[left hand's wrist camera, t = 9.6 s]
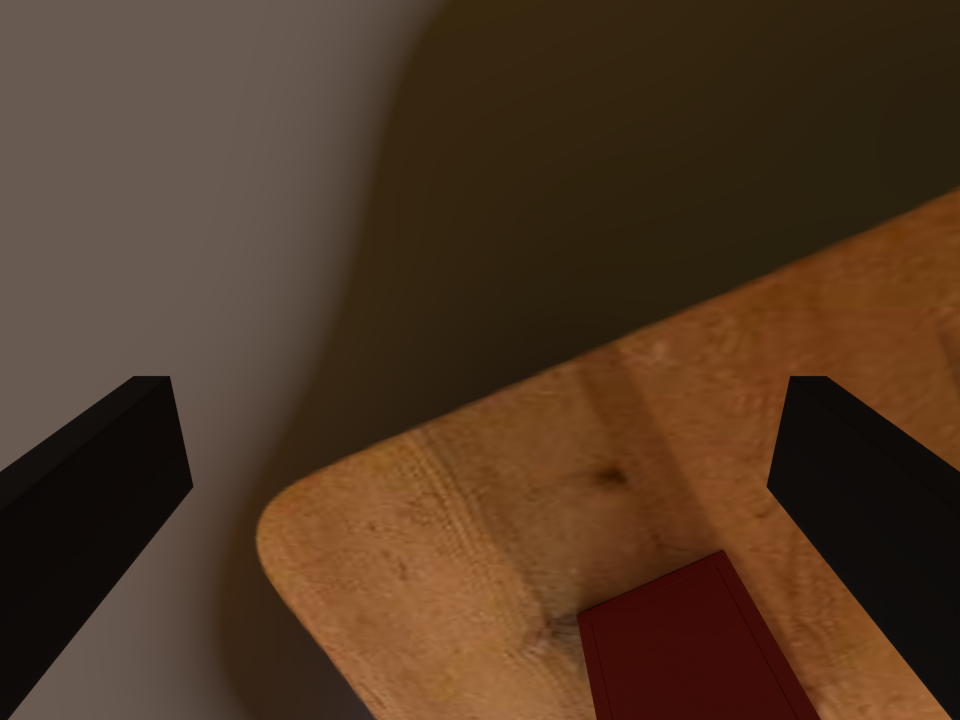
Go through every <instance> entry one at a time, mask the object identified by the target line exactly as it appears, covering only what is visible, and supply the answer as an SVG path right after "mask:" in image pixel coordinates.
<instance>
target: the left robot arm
mask: <svg viewBox="0 0 960 720" xmlns="http://www.w3.org/2000/svg"><path fill="white" fill-rule="evenodd" d="M192 488H193V482H192V478H191V473H190V468H189V464H188V459H187V454H186V450H185V445H184V440H183V436H182V431H181V426H180V422H179V417H178V412H177V407H176V403H175V398H174V394H173V389H172V384H171V379H170V376H133V377H132V378H130V379H129V380H128V381H126V382H125V383H123V384H122V385H121V386H119V387H118V388H116V389H115V390H114V391H112V392H111V393H109V394H108V395H107V396H105V397H104V398H102V399H101V400H100V401H98V402H97V403H96V404H94V405H93V406H91V407H90V408H89V409H87V410H86V411H84V412H83V413H82V414H80V415H79V416H77V417H76V418H75V419H73V420H72V421H71V422H69V423H68V424H66V425H65V426H63V427H62V428H61V429H59V430H58V431H57V432H55V433H54V434H52V435H51V436H50V437H48V438H47V439H45V440H44V441H43V442H41V443H40V444H38V445H37V446H36V447H34V448H33V449H31V450H30V451H29V452H27V453H26V454H25V455H23V456H22V457H20V458H19V459H18V460H16V461H15V462H13V463H12V464H11V465H9V466H8V467H7V468H5V469H4V470H2V471H1V472H0V720H8V719H9V717H10V716H11V715H12V714H13V712H14V711H15V710H16V709H17V707H18V706H19V705H20V704H21V702H22V701H23V700H24V699H25V697H26V696H27V695H28V694H29V692H30V691H31V690H32V689H33V687H34V686H35V685H36V684H37V682H38V681H39V680H40V679H41V677H42V676H43V675H44V674H45V672H46V671H47V670H48V668H49V667H50V666H51V665H52V663H53V662H54V661H55V660H56V659H57V657H58V656H59V655H60V653H61V652H62V651H63V650H64V648H65V647H66V646H67V645H68V643H69V642H70V641H71V640H72V638H73V637H74V636H75V635H76V633H77V632H78V631H79V630H80V628H81V627H82V626H83V625H84V623H85V622H86V621H87V620H88V618H89V617H90V616H91V615H92V613H93V612H94V611H95V610H96V608H97V607H98V606H99V605H100V603H101V602H102V601H103V600H104V598H105V597H106V596H107V594H108V593H109V592H110V591H111V590H112V588H113V587H114V586H115V584H116V583H117V582H118V581H119V580H120V578H121V577H122V576H123V574H124V573H125V572H126V571H127V569H128V568H129V567H130V566H131V564H132V563H133V562H134V561H135V559H136V558H137V557H138V556H139V554H140V553H141V552H142V551H143V549H144V548H145V547H146V546H147V544H148V543H149V542H150V541H151V539H152V538H153V537H154V536H155V534H156V533H157V532H158V531H159V529H160V528H161V527H162V526H163V524H164V523H165V522H166V521H167V519H168V518H169V517H170V516H171V514H172V513H173V512H174V510H175V509H176V508H177V507H178V505H179V504H180V503H181V502H182V500H183V499H184V498H185V497H186V495H187V494H188V493H189V492H190V490H191V489H192ZM767 488H768V489H769V490H770V492H771V493H772V494H773V495H774V497H775V498H776V499H777V500H778V502H779V503H780V504H781V505H782V507H783V508H784V509H785V511H786V512H787V513H788V514H789V516H790V517H791V518H792V519H793V521H794V522H795V523H796V524H797V526H798V527H799V528H800V529H801V531H802V532H803V533H804V534H805V536H806V537H807V538H808V539H809V541H810V542H811V543H812V544H813V546H814V547H815V548H816V549H817V551H818V552H819V553H820V554H821V556H822V557H823V558H824V559H825V561H826V562H827V563H828V564H829V566H830V567H831V568H832V569H833V571H834V572H835V573H836V574H837V576H838V577H839V578H840V580H841V581H842V582H843V583H844V585H845V586H846V587H847V588H848V590H849V591H850V592H851V593H852V595H853V596H854V597H855V598H856V600H857V601H858V602H859V603H860V605H861V606H862V607H863V608H864V610H865V611H866V612H867V613H868V615H869V616H870V617H871V618H872V620H873V621H874V622H875V623H876V625H877V626H878V627H879V628H880V630H881V631H882V632H883V633H884V635H885V636H886V637H887V638H888V640H889V641H890V642H891V643H892V645H893V646H894V647H895V648H896V650H897V651H898V652H899V654H900V655H901V656H902V657H903V659H904V660H905V661H906V662H907V664H908V665H909V666H910V667H911V669H912V670H913V671H914V672H915V674H916V675H917V676H918V677H919V679H920V680H921V681H922V682H923V684H924V685H925V686H926V687H927V689H928V690H929V691H930V692H931V694H932V695H933V696H934V697H935V699H936V700H937V701H938V702H939V704H940V705H941V706H942V707H943V709H944V710H945V711H946V712H947V714H948V715H949V716H950V717H951V719H952V720H960V472H959V471H958V470H956V469H955V468H954V467H952V466H951V465H949V464H948V463H947V462H945V461H944V460H942V459H941V458H940V457H938V456H937V455H935V454H934V453H933V452H931V451H930V450H929V449H927V448H926V447H924V446H923V445H922V444H920V443H919V442H917V441H916V440H915V439H913V438H912V437H910V436H909V435H908V434H906V433H905V432H903V431H902V430H901V429H899V428H898V427H897V426H895V425H894V424H892V423H891V422H890V421H888V420H887V419H885V418H884V417H883V416H881V415H880V414H878V413H877V412H876V411H874V410H873V409H871V408H870V407H869V406H867V405H866V404H864V403H863V402H862V401H860V400H859V399H858V398H856V397H855V396H853V395H852V394H851V393H849V392H848V391H846V390H845V389H844V388H842V387H841V386H839V385H838V384H837V383H835V382H834V381H832V380H831V379H830V378H828V377H827V376H790V379H789V384H788V389H787V393H786V398H785V403H784V407H783V412H782V417H781V422H780V426H779V431H778V436H777V440H776V445H775V450H774V454H773V459H772V464H771V468H770V473H769V478H768V482H767Z"/></svg>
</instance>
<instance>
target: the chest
mask: <svg viewBox="0 0 960 720" xmlns="http://www.w3.org/2000/svg"><path fill="white" fill-rule="evenodd" d="M577 620H578V625H579V630H580V635H581V640H582V646H583V651H584V656H585V661H586V666H587V671H588V677H589V682H590V687H591V692H592V697H593V702H594V708H595V713H596V718H597V720H821V719H820V717H819V716H818V714H817V712H816V710H815V709H814V707H813V705H812V703H811V702H810V700H809V698H808V696H807V695H806V693H805V691H804V689H803V688H802V686H801V684H800V682H799V681H798V679H797V677H796V675H795V674H794V672H793V670H792V668H791V667H790V665H789V663H788V661H787V660H786V658H785V656H784V654H783V653H782V651H781V649H780V647H779V646H778V644H777V642H776V640H775V639H774V637H773V635H772V633H771V632H770V630H769V628H768V626H767V625H766V623H765V621H764V619H763V618H762V616H761V614H760V612H759V611H758V609H757V607H756V605H755V604H754V602H753V600H752V598H751V597H750V595H749V593H748V591H747V590H746V588H745V586H744V584H743V583H742V581H741V579H740V577H739V576H738V574H737V572H736V570H735V569H734V567H733V565H732V563H731V562H730V560H729V558H728V556H727V555H726V553H725V551H721V552H719V553H716V554H714V555H712V556H710V557H707V558H705V559H703V560H701V561H698V562H696V563H694V564H691V565H689V566H687V567H685V568H682V569H680V570H678V571H676V572H673V573H671V574H669V575H667V576H664V577H662V578H660V579H657V580H655V581H653V582H651V583H648V584H646V585H644V586H642V587H639V588H637V589H635V590H633V591H630V592H628V593H626V594H623V595H621V596H619V597H617V598H614V599H612V600H610V601H608V602H605V603H603V604H601V605H599V606H596V607H594V608H592V609H589V610H587V611H585V612H583V613H580V614H578V615H577Z"/></svg>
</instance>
